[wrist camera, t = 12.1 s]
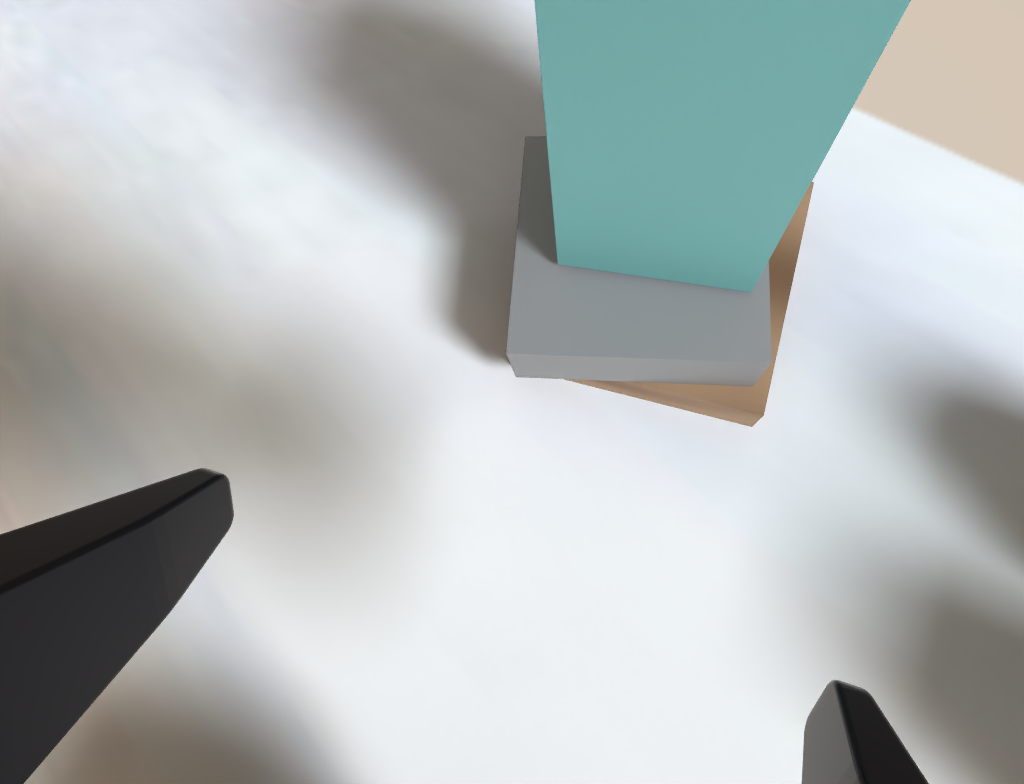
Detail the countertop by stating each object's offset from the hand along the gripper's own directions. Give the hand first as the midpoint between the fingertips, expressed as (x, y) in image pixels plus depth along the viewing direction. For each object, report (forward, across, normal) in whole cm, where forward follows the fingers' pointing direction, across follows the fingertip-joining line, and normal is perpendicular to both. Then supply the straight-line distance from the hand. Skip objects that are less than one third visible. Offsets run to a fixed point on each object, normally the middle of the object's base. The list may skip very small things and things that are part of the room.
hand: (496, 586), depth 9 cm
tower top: (+16, 0, +1) cm, 16 cm away
